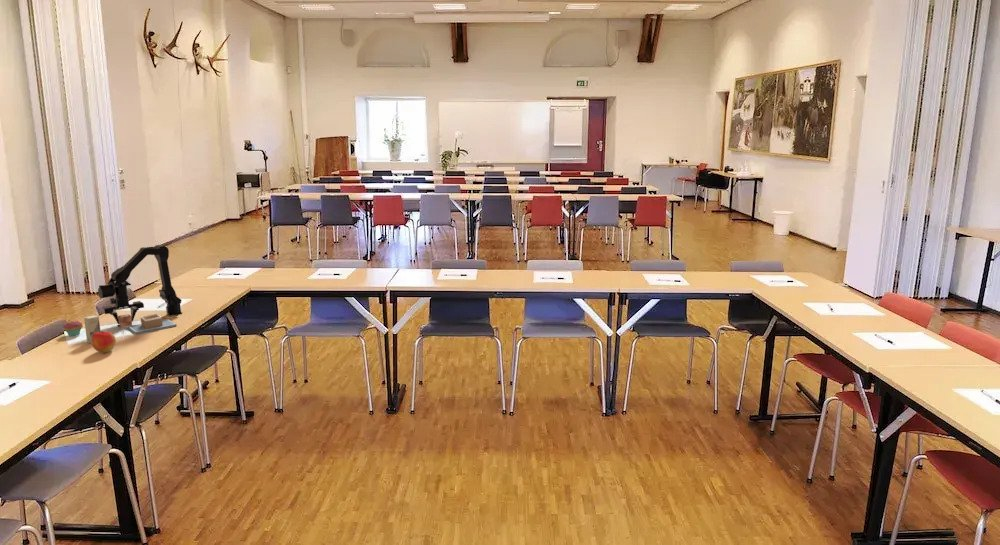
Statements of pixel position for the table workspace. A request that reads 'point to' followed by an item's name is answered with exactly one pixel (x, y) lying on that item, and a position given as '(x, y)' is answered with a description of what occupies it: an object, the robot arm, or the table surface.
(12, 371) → the table surface
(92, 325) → the box
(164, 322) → the blueprint board
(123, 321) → the terracotta block
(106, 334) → the apple
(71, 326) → the cupcake
